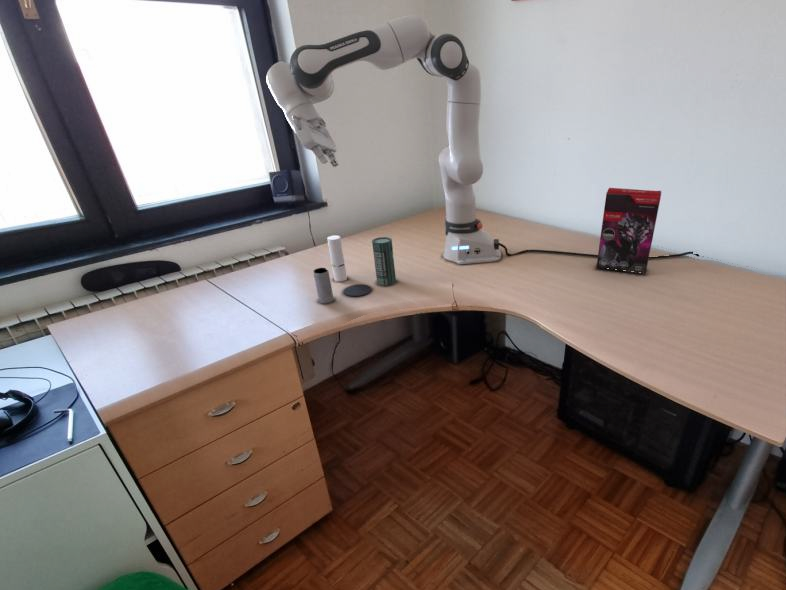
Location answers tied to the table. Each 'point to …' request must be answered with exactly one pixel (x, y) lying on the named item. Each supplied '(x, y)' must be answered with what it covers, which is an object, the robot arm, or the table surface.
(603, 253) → the graphics card box
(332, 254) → the tube
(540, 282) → the table surface
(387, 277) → the can
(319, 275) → the grey hollow cylinder
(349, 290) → the slate coaster
